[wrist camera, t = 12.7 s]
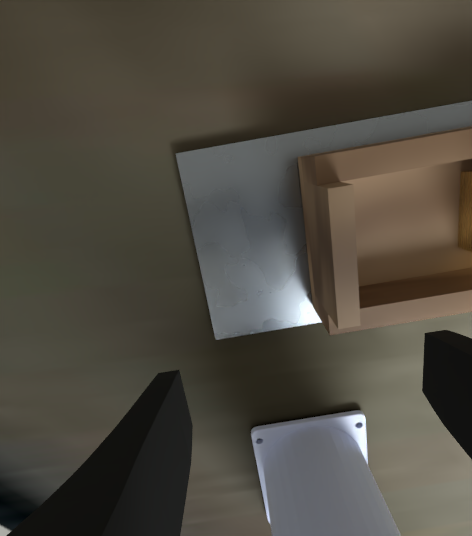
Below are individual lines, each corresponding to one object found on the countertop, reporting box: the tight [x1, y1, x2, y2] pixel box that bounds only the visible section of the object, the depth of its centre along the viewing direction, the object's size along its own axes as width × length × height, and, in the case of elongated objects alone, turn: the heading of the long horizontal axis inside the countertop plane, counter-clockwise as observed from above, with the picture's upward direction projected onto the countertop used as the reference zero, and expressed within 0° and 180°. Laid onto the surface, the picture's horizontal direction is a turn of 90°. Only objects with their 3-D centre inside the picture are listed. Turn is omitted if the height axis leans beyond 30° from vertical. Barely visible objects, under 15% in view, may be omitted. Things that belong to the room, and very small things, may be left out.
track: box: [176, 101, 472, 340], centre depth 17 cm, size 11×29×3 cm, turn 100°
